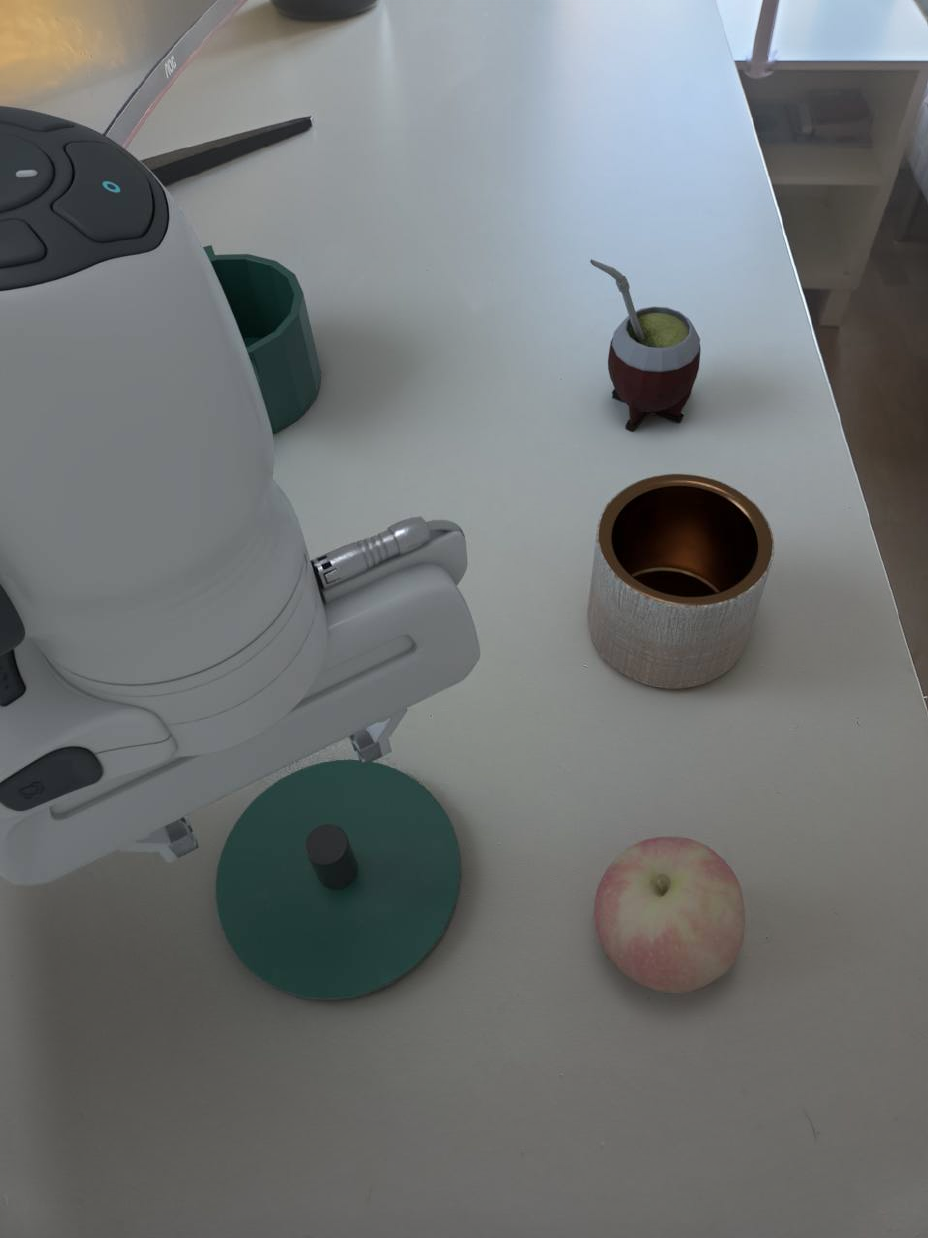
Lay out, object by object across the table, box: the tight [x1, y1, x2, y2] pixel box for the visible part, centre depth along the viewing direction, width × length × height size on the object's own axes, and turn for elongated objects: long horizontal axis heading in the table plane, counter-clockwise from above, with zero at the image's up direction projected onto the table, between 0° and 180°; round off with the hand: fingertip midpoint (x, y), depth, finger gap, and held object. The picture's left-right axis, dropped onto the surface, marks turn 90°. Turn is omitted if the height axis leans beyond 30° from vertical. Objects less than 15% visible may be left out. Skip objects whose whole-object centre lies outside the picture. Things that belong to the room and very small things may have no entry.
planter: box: [587, 473, 775, 690], centre depth 62 cm, size 11×11×10 cm
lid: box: [215, 759, 462, 1001], centre depth 55 cm, size 14×14×5 cm
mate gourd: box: [589, 259, 702, 432], centre depth 73 cm, size 8×8×15 cm
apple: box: [593, 836, 746, 994], centre depth 51 cm, size 8×8×8 cm
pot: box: [202, 244, 322, 435], centre depth 79 cm, size 13×19×8 cm
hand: (277, 793), depth 44 cm, fingers open, 8 cm apart
